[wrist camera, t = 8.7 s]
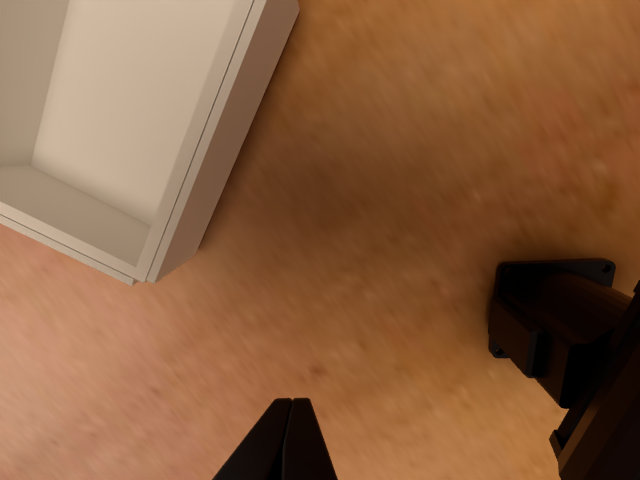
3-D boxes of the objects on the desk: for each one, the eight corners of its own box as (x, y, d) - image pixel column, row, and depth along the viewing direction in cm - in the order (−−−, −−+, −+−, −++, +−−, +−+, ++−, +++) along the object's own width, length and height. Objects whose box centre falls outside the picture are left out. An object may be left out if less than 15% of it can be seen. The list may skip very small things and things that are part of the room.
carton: (307, 2, 15) (293, -69, 11) (195, 260, 19) (149, 294, 15) (95, -124, 14) (-26, -263, 10) (25, 176, 19) (-84, 183, 14)
